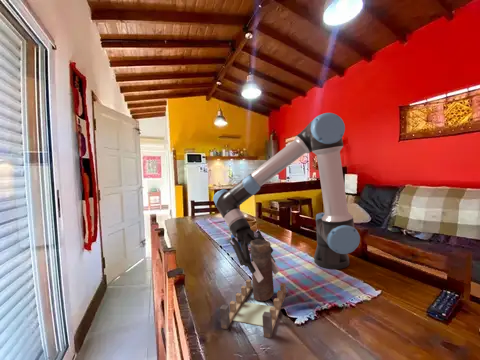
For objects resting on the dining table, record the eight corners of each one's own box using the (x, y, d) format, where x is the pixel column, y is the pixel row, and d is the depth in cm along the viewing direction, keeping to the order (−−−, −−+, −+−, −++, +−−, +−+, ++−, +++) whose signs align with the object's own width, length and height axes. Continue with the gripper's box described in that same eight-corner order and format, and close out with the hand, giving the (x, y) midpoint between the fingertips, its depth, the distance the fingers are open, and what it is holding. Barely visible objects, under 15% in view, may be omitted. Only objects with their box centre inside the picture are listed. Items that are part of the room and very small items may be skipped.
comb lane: (287, 292, 88) (286, 276, 88) (270, 338, 66) (269, 316, 65) (248, 287, 94) (247, 272, 93) (221, 328, 71) (219, 308, 71)
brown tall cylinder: (261, 289, 92) (257, 237, 91) (278, 294, 87) (274, 240, 86) (249, 298, 86) (245, 243, 85) (266, 305, 81) (262, 246, 80)
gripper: (252, 223, 104) (283, 272, 92) (212, 234, 91) (242, 292, 79) (260, 212, 99) (294, 262, 87) (219, 222, 87) (252, 281, 75)
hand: (269, 276), depth 83 cm, fingers closed on brown tall cylinder, 7 cm apart
